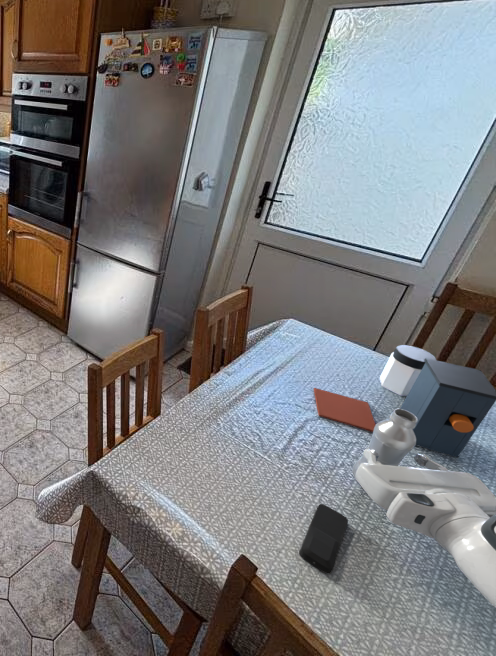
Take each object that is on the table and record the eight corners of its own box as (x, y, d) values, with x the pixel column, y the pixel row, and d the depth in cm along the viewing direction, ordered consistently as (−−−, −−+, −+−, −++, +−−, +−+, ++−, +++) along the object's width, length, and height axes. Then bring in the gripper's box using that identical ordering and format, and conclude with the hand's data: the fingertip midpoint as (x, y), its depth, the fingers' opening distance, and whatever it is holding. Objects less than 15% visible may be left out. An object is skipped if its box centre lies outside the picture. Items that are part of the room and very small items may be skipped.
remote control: (317, 507, 87) (297, 555, 78) (320, 501, 86) (300, 549, 77) (346, 523, 84) (329, 576, 74) (349, 518, 83) (333, 570, 74)
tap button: (465, 427, 94) (472, 417, 93) (469, 434, 93) (476, 424, 91) (446, 422, 96) (452, 411, 95) (450, 429, 94) (456, 418, 93)
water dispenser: (443, 429, 105) (480, 370, 97) (459, 459, 97) (501, 397, 89) (393, 415, 109) (425, 357, 101) (405, 442, 101) (440, 382, 93)
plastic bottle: (382, 477, 92) (421, 410, 84) (390, 501, 87) (433, 432, 79) (346, 465, 96) (380, 399, 87) (352, 488, 90) (388, 420, 82)
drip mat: (367, 404, 113) (368, 402, 113) (377, 433, 104) (378, 431, 103) (313, 389, 119) (314, 387, 118) (318, 416, 109) (319, 414, 109)
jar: (403, 378, 122) (420, 345, 117) (427, 397, 115) (447, 363, 110) (370, 377, 123) (386, 344, 118) (392, 396, 116) (410, 361, 110)
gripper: (529, 512, 70) (457, 447, 83) (395, 499, 73) (345, 437, 85) (509, 535, 73) (442, 469, 85) (381, 521, 76) (334, 459, 88)
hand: (393, 453), depth 85 cm, fingers open, 8 cm apart
